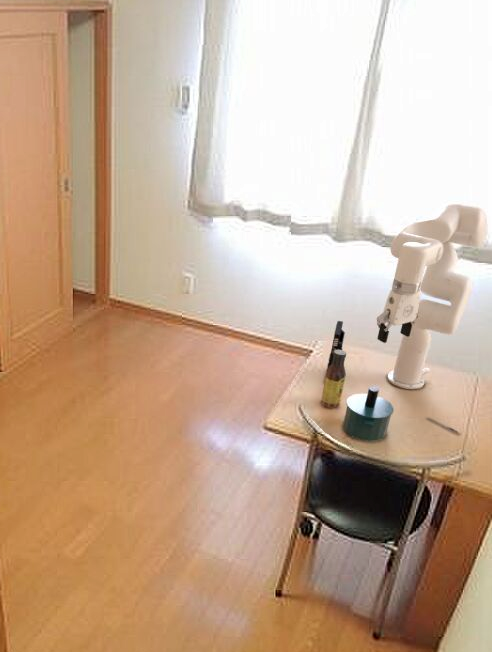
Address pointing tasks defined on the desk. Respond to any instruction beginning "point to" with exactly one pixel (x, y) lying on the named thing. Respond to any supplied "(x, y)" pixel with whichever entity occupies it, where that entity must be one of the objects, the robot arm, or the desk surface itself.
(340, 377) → the sauce bottle
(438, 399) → the desk surface
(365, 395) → the lid
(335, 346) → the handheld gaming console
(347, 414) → the pot
